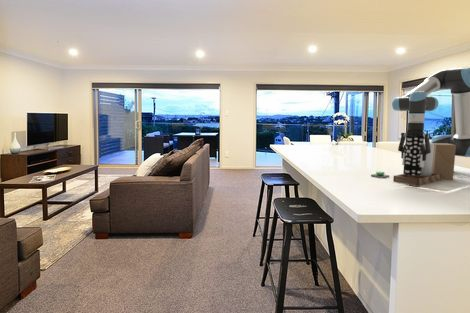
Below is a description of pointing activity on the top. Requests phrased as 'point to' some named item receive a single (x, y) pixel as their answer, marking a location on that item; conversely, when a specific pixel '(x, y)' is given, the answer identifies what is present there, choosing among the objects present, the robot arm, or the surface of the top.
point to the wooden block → (444, 160)
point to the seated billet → (428, 162)
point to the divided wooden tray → (416, 179)
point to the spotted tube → (413, 155)
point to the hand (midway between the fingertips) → (412, 165)
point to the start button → (380, 173)
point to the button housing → (379, 176)
